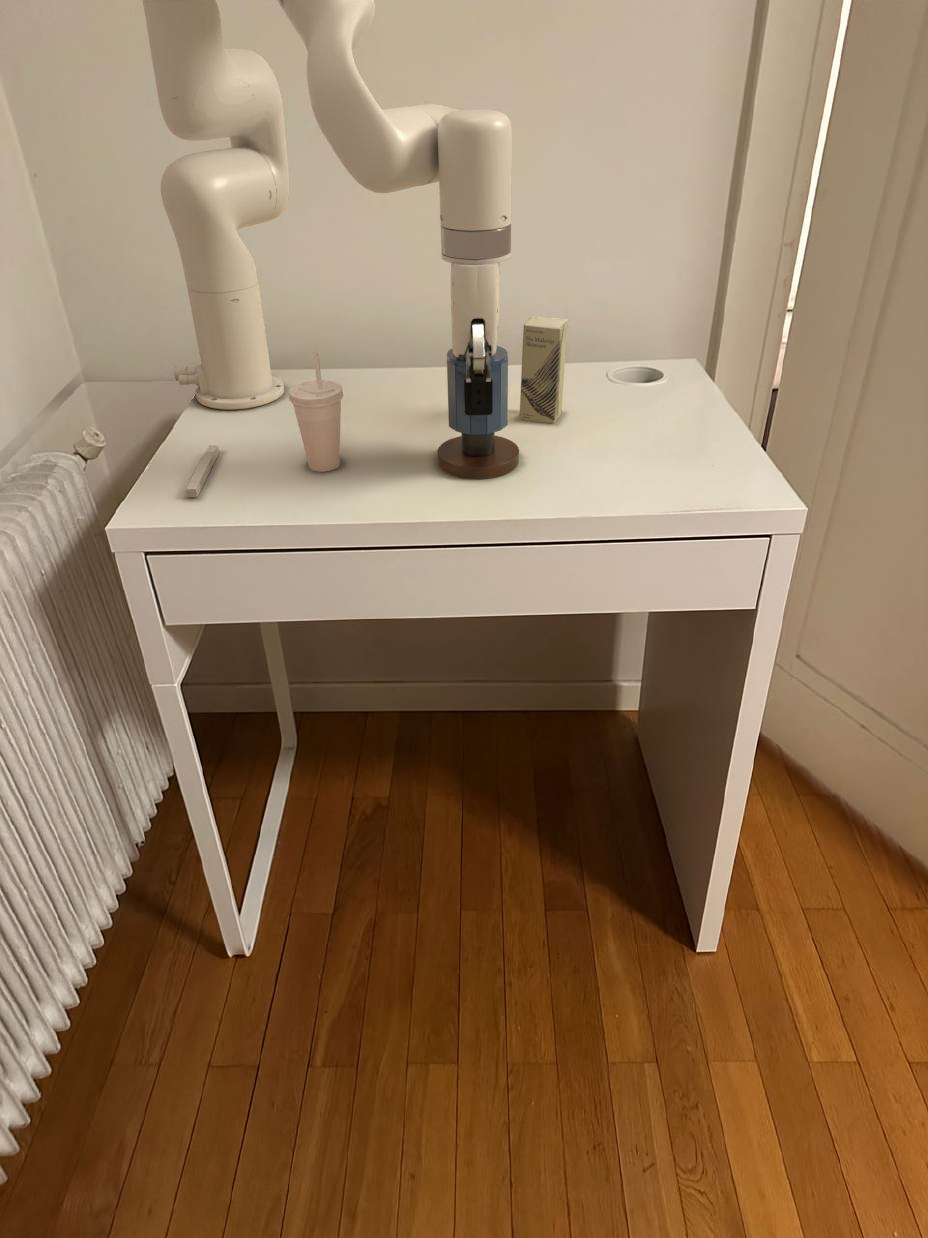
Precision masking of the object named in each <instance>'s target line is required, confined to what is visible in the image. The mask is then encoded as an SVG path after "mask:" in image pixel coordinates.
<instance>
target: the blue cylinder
mask: <svg viewBox="0 0 928 1238" xmlns="http://www.w3.org/2000/svg"><path fill="white" fill-rule="evenodd" d="M484 352H487V344H486V348H484ZM469 353H473V348H470V349H469ZM490 354H491V353H490ZM508 354H509V352H508V350H506V349H505V348H504V347H502V346H499V345H497V348H496V353H495V354H494V355H493V356H491V357H490V365H491V379H492V380H493V413H492V414H491V415H466V414H465V403H464V380H466V358H465V355H466V351H465V353H464V355H459V357H456V356H455V355H454V354H453V347H451V348H450V349H448V350H447V352H446V376H447V377H446V378H447V409H448V411H447V413H448V427H449V428H450V429H452V430H453V431H455V432H456V433H460V434H462V433H465V434H471V435H478V434H490V433H494V432H495V433H498V432H500V431H502V430H503V429H505V428H506V427H507V426H508V420H509V419H508V417H509V415H508V411H509V410H508V409H509V407H508V406H509V401H508V400H509V397H508V396H509V358H508V357H509V356H508ZM470 361H471V363H473V360H470ZM485 363H486V359H485Z"/></svg>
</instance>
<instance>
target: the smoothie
mask: <svg viewBox="0 0 928 1238" xmlns="http://www.w3.org/2000/svg"><path fill="white" fill-rule="evenodd" d="M312 354H313V360H314V361H313V362H314V370H315V379H316V380H307V381H302V382H299V383H297V384H295V385H292V386H291V387H290V388H289V389H288V401H289V402H290V403H291V404H292V406H293V409H294V410H293V411H294V413H295V418H296V421H297V425H298V430H299V433H300V437H301V441H302V444H303V449H304V452H305V455H306V460H307V463H308V467H309V469H310V470H312V471H314V472H323V473H324V472H330V471H333V470H336V469H337V468H339V467H340V458H341V457H340V456H341V455H340V452H341V419H342V418H341V415H342V400H343V398H344V396H345V395H344V391H343V386H342V385H341V384H340V383H338V382H336V381H332V380H326V379H325V380H324V379H322V373H321V363H320V357H319V352H318V351H314V352H313V353H312Z"/></svg>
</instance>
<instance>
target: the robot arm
mask: <svg viewBox="0 0 928 1238" xmlns="http://www.w3.org/2000/svg"><path fill="white" fill-rule="evenodd" d="M141 1H142V5H143V10H144V15H145V23H146V29H147V35H148V37H147V38H148V43H149V49H150V55H151V61H152V67H153V72H154V74H153V75H154V79H155V86H156V92H157V97H158V103H159V107H160V113H161V115H162V118H163V121H164V123H165V125H166V127H167V128H168V130H169V131H170V132H171V133H172V135H174V136H176V137H177V138H180V139H181V140H185V141H189V142H190V141H191V142H193V141H195V142H197V141H198V142H199V141H211V140H218V139H225V138H229V141H230V147H227V148H218V149H211V150H205V151H200V152H199V151H198V152H193V153H189V154H186V155H183V156H181V157H179V158H176V159H175V160H173V161H172V162H171V163H170V164H168V166H166V169H165V170H164V172H163V174H162V177H161V180H160V196H161V200H162V204H163V207H164V211H165V213H166V216H167V218H168V221H169V224H170V226H171V229H172V232H173V235H174V237H175V242H176V244H177V248H178V252H179V256H180V260H181V265H182V269H183V274H184V279H185V284H186V288H187V294H188V299H189V305H190V308H191V316H192V321H193V326H194V332H195V337H196V341H197V342H196V343H197V347H198V354H199V358H200V364H196V365H195V367H189V366H175V367H174V369H173V376H174V379H175V381H178V383H179V385H181V386H185V385H186V386H187V385H195V386H197V387H196V389H195V397H196V400H197V402H198V403H199V404H201V405H202V406H205V407H207V408H212V409H217V410H244V409H250V408H251V409H252V408H256V407H260V406H264V405H267V404H270V403H272V402H274V401H276V400H277V399H280V397H281V396H283V394H284V393H285V384H284V381H283V380H282V378H280V377H278V376H276V375H273V374H272V369H271V362H270V361H271V360H270V353H269V346H268V339H267V333H266V332H267V331H266V327H265V325H266V324H265V319H264V312H263V306H262V305H263V304H262V298H261V291H260V290H261V289H260V285H259V279H258V271H257V267H256V264H255V261H254V258H253V255H252V254H251V252H250V250H249V249H248V248H247V246H246V244H245V243H244V242H243V241H242V239H241V237H240V235H239V233H238V231H237V230H240V229H243V228H247V227H252V226H255V225H259V224H263V223H267V222H270V221H272V220H275V219H276V218H278V217H280V216H281V215H282V214H283V212H284V211H285V209H286V208H287V205H288V202H289V198H290V171H289V159H288V148H287V137H286V135H287V134H286V125H285V124H286V123H285V113H284V107H283V105H284V104H283V98H282V97H283V96H282V93H281V89H280V85H279V82H278V79H277V78H276V75H275V73H274V71H273V69H272V68H271V66H270V65H269V63H268V62H267V60H265V59H264V58H263V57H262V56H261V55H260V54H258V53H257V52H256V51H254V50H251V49H247V48H242V47H233V48H232V47H231V48H226V47H225V43H224V37H223V31H222V19H221V13H220V10H219V6H218V3H217V0H141ZM276 1H277V2H278V5H279V6H280V7H281V9H282V10H283V12H284V13H285V16H286V17H287V18H288V20H289V21H290V24H291V25H292V26H293V28H294V30H295V31H296V33H297V34H298V36H299V37H300V39H301V41H302V43H303V44H304V46H305V48H306V50H307V56H306V57H307V59H306V81H307V88H308V95H309V99H310V105H311V109H312V112H313V116H314V118H315V120H316V123H317V125H318V127H319V130H320V131H321V133H322V134H323V136H324V137H325V139H326V141H327V143H328V144H329V145H330V147H331V148H332V151H333V152H334V153H335V155H336V157H337V158H338V159H339V161H340V163H341V164H342V165H343V167H344V168H345V171H347V172H348V174H350V176H351V177H352V178H353V179H354V181H356V182H357V183H358V184H359V185H360V186H362V187H363V188H364V189H366V190H368V191H371V192H373V193H377V194H389V193H395V192H399V191H403V190H407V189H411V188H416V187H421V186H426V185H430V184H434V183H438V185H439V186H438V187H439V217H440V247H441V248H440V249H441V259H442V260H443V261H445V262H447V263H450V312H451V313H450V314H451V315H450V316H451V341H452V348H453V354H454V355H455V356H456V357H459V355H464V353H465V351H466V355H465V358H466V380H464V403H465V414H466V415H491V414H492V413H493V380H492V379H491V365H490V357H491V356H493V355H494V354H495V353H496V348H497V346H498V334H499V321H500V320H499V318H500V292H501V291H500V285H501V284H500V283H501V282H500V281H501V278H500V277H501V270H500V269H501V263H503V262H505V261H508V260H509V259H511V257H512V185H513V183H512V182H513V181H512V180H513V179H512V174H513V173H512V172H513V171H512V170H513V169H512V167H513V129H512V123H511V120H510V118H509V116H508V115H507V114H506V113H504V112H502V111H499V110H493V109H464V110H461V109H457V108H453V107H450V106H446V105H443V104H438V103H423V104H415V105H406V106H398V107H392V108H384V109H382V108H381V107H380V105H379V104H378V102H377V100H376V99H375V97H374V95H373V94H372V93H371V91H370V90H369V88H368V86H367V85H366V82H365V81H364V80H363V78H362V76H361V74H360V72H359V70H358V67H357V65H356V62H355V58H354V55H353V49H355V47H356V46H358V44H359V43H360V42H361V41H362V39H364V37H365V36H366V34H367V33H368V31H369V30H370V28H371V26H372V23H373V21H374V19H375V15H376V3H375V0H276ZM486 344H487V352H484V348H486ZM470 348H473V353H469V349H470ZM490 353H491V354H490ZM485 359H486V363H485ZM470 360H473V363H471V361H470Z"/></svg>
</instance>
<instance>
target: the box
mask: <svg viewBox="0 0 928 1238" xmlns="http://www.w3.org/2000/svg"><path fill="white" fill-rule="evenodd" d="M568 326H569V320H568V319H566V318H558V317H549V316H537V315H531V316H530V317H529V318H528V319H527V320H526V321H525V322H524V324H523V330H522V349H521V350H522V351H521V353H522V354H521V376H520V379H521V380H520V400H519V419H520V420H524V421H532V422H537V423H539V422H540V423H547V424H555V422H557V420H558V419H559V418H560V416H561V414H562V409H563V395H564V394H563V393H564V382H565V381H564V380H565V366H566V354H567V353H566V352H567V340H568V338H567V337H568V328H569V327H568Z"/></svg>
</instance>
